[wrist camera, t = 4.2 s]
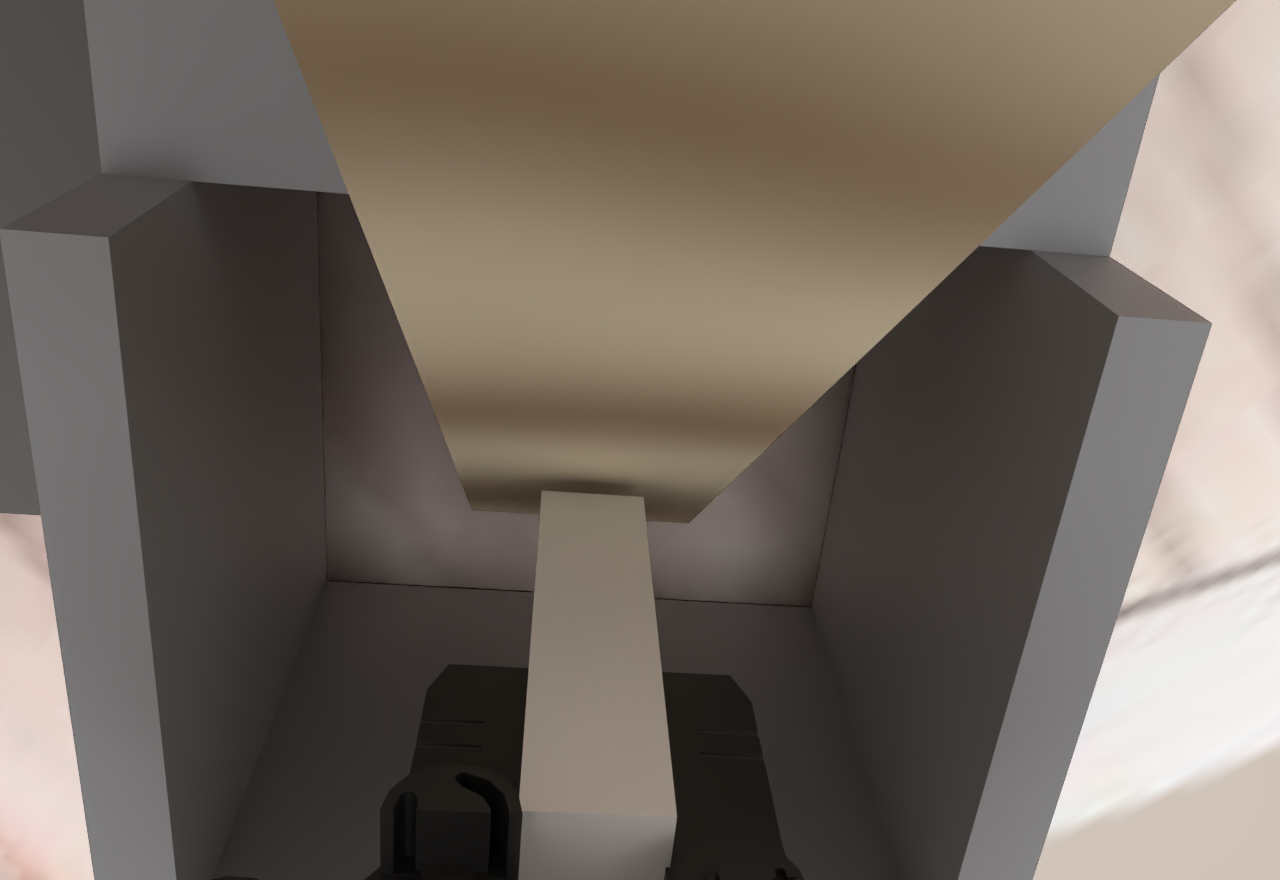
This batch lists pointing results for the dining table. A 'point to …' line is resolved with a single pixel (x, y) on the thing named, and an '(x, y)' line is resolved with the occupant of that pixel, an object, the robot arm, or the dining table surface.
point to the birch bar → (688, 201)
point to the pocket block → (502, 620)
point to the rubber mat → (37, 178)
